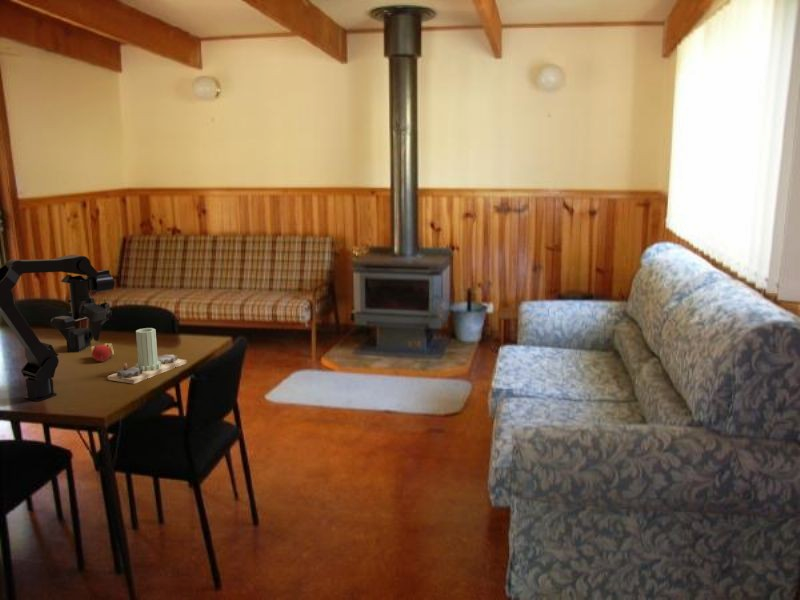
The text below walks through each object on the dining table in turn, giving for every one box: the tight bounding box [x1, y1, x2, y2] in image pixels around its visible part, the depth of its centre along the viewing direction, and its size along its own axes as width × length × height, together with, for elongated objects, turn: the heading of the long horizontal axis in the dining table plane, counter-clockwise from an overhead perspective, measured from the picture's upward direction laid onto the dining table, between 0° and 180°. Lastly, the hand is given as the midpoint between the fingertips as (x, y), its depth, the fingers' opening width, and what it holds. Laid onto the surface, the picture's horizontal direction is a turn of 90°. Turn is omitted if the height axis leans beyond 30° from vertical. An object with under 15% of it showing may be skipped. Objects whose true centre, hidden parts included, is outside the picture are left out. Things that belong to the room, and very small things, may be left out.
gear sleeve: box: [134, 327, 161, 371], centre depth 226 cm, size 8×8×13 cm
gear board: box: [107, 353, 188, 385], centre depth 227 cm, size 25×11×5 cm, turn 157°
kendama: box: [90, 342, 115, 363], centre depth 245 cm, size 8×6×18 cm
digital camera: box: [66, 327, 94, 353], centre depth 255 cm, size 10×5×7 cm, turn 0°
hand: (84, 344), depth 212 cm, fingers open, 9 cm apart
